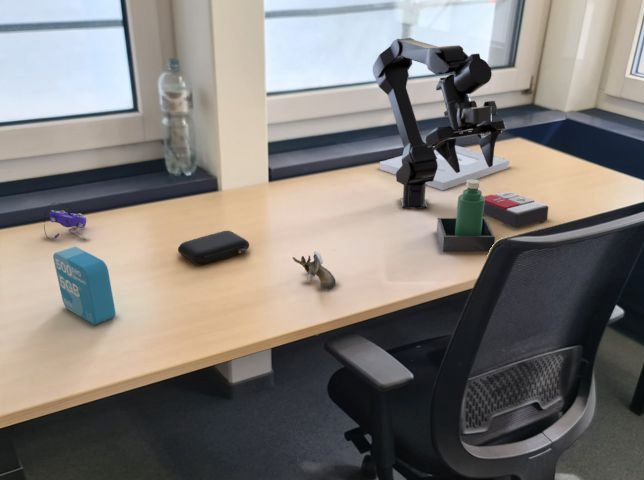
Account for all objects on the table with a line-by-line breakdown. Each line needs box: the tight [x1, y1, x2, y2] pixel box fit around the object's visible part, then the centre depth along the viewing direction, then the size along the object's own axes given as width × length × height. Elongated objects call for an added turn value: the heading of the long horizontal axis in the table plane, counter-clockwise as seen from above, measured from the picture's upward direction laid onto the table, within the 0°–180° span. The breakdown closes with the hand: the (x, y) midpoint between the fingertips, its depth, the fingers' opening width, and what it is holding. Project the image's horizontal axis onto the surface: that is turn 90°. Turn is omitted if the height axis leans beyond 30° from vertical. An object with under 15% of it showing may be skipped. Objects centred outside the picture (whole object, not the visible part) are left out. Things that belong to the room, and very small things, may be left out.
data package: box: [52, 246, 117, 326], centre depth 143 cm, size 12×4×12 cm, turn 47°
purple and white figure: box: [43, 202, 87, 241], centre depth 179 cm, size 10×8×10 cm
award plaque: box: [379, 144, 510, 191], centre depth 222 cm, size 25×30×2 cm
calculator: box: [483, 190, 549, 229], centre depth 190 cm, size 11×4×15 cm
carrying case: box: [177, 230, 250, 266], centre depth 170 cm, size 11×3×15 cm
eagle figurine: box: [291, 251, 337, 291], centre depth 157 cm, size 8×7×9 cm
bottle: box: [455, 179, 485, 236], centre depth 172 cm, size 6×6×15 cm
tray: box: [436, 217, 496, 253], centre depth 176 cm, size 12×12×4 cm
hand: (474, 169), depth 172 cm, fingers open, 9 cm apart
